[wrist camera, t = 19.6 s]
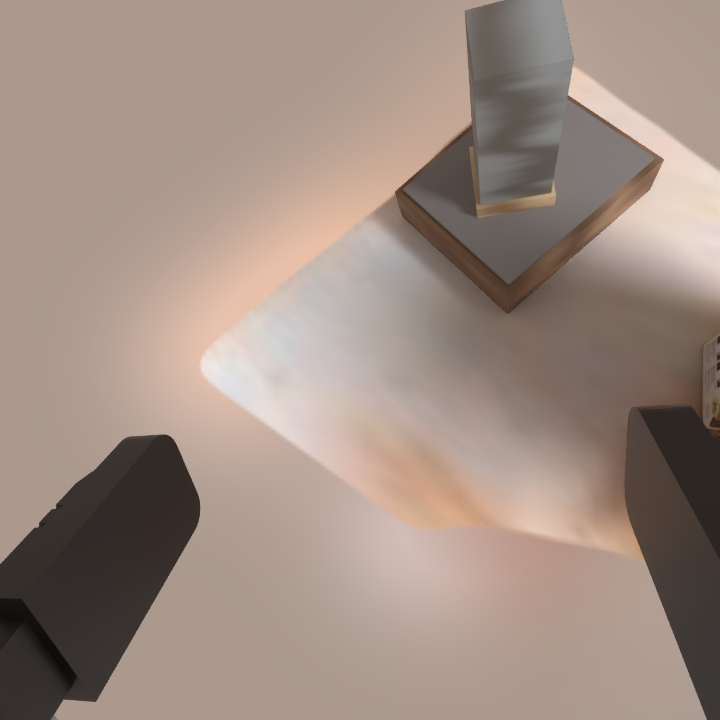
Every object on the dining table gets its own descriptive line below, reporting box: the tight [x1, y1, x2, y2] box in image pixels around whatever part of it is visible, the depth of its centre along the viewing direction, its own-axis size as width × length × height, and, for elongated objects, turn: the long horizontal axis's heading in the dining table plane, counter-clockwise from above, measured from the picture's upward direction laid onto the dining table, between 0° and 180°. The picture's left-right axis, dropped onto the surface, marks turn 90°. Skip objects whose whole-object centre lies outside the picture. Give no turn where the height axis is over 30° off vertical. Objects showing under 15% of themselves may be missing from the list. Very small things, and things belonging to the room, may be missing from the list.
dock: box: [395, 96, 664, 314], centre depth 41 cm, size 15×13×4 cm
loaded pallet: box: [465, 0, 574, 218], centre depth 34 cm, size 6×6×13 cm
